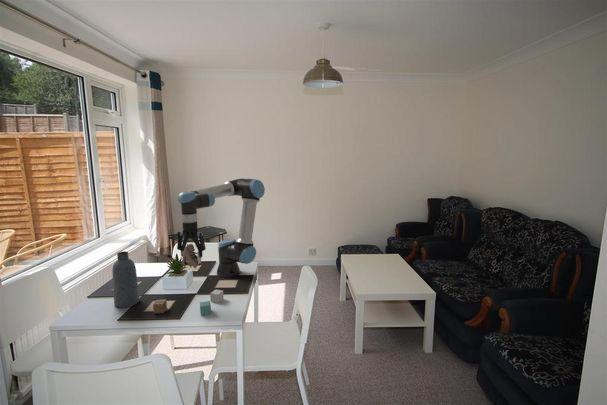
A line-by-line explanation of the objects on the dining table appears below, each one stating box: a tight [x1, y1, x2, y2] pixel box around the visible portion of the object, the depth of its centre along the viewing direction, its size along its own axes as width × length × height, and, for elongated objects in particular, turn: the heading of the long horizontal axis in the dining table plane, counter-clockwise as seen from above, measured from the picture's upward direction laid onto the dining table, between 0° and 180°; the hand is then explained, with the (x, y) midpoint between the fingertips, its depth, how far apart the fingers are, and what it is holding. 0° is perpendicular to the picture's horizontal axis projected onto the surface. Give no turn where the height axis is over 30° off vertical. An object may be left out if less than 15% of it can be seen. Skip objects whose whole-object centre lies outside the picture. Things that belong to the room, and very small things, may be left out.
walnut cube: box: [152, 299, 168, 314], centre depth 168 cm, size 5×5×5 cm
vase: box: [111, 251, 141, 309], centre depth 175 cm, size 12×12×28 cm
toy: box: [181, 243, 201, 269], centre depth 174 cm, size 9×8×15 cm
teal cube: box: [199, 300, 212, 317], centre depth 166 cm, size 5×5×5 cm
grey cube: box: [209, 289, 224, 304], centre depth 180 cm, size 5×5×5 cm
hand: (192, 262), depth 176 cm, fingers closed on toy, 8 cm apart
